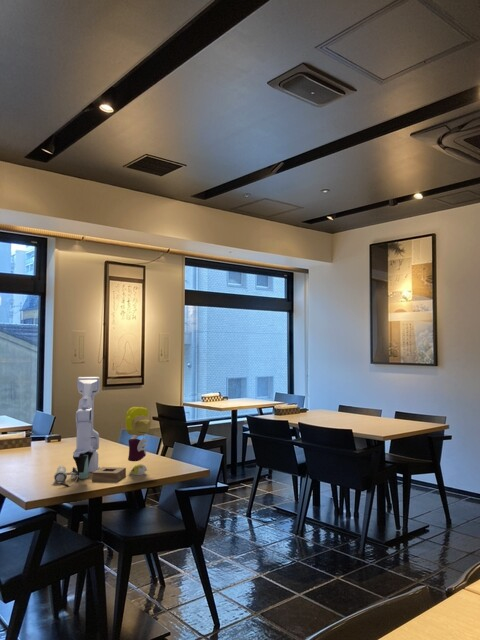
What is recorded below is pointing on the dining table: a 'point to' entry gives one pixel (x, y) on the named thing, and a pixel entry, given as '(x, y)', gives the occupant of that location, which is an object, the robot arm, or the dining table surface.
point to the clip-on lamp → (65, 475)
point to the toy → (136, 429)
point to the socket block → (109, 474)
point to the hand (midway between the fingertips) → (82, 471)
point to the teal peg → (85, 473)
